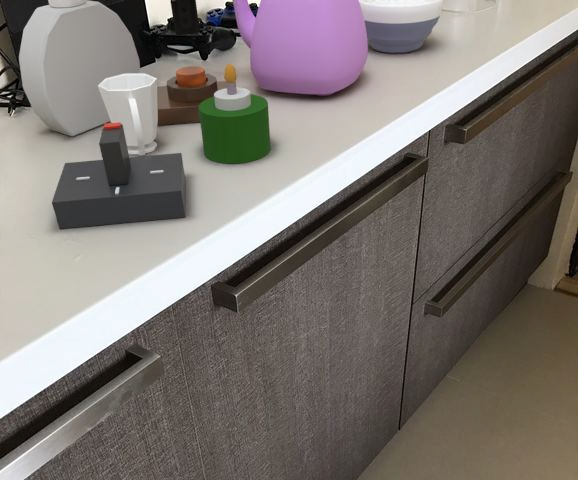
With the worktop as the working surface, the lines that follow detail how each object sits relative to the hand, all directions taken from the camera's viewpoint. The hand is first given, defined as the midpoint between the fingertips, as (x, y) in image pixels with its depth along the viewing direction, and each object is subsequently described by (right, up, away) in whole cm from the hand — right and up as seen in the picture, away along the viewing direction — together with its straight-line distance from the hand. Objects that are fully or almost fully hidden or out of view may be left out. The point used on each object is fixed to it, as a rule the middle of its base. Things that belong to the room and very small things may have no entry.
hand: (187, 32), depth 88 cm
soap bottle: (-14, -10, +5) cm, 18 cm away
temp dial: (-5, -24, -17) cm, 30 cm away
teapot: (+16, -1, +14) cm, 21 cm away
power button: (0, -5, +4) cm, 6 cm away
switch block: (0, -8, +6) cm, 10 cm away
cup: (-5, -18, -4) cm, 19 cm away
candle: (+7, -18, -5) cm, 20 cm away
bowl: (+32, +12, +27) cm, 43 cm away
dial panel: (-4, -27, -15) cm, 31 cm away
